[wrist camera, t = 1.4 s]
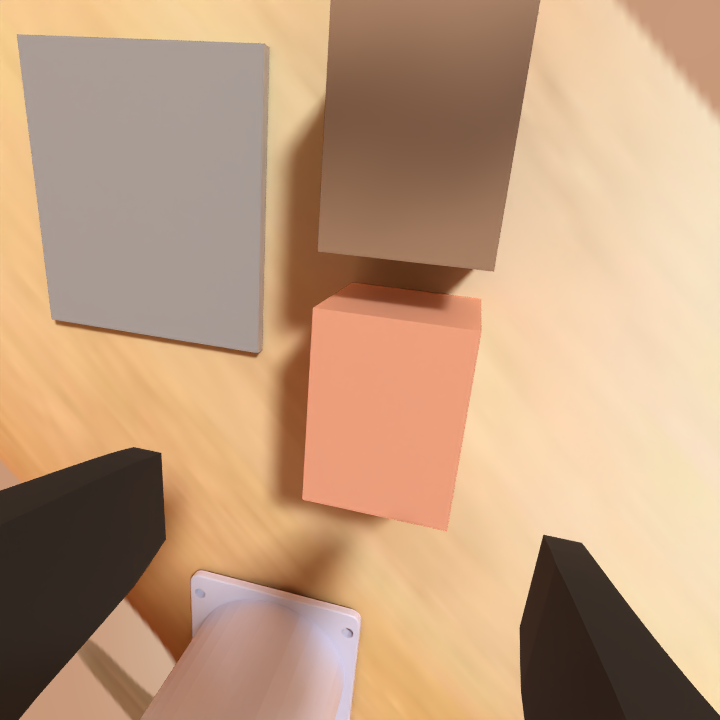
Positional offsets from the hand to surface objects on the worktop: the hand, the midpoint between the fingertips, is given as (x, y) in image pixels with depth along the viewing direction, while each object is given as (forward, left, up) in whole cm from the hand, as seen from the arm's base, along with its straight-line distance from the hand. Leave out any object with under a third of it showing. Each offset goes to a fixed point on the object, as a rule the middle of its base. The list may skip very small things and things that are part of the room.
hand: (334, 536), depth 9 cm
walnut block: (+7, 0, -9) cm, 12 cm away
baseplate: (+5, +10, -9) cm, 14 cm away
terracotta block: (0, 0, -9) cm, 9 cm away
